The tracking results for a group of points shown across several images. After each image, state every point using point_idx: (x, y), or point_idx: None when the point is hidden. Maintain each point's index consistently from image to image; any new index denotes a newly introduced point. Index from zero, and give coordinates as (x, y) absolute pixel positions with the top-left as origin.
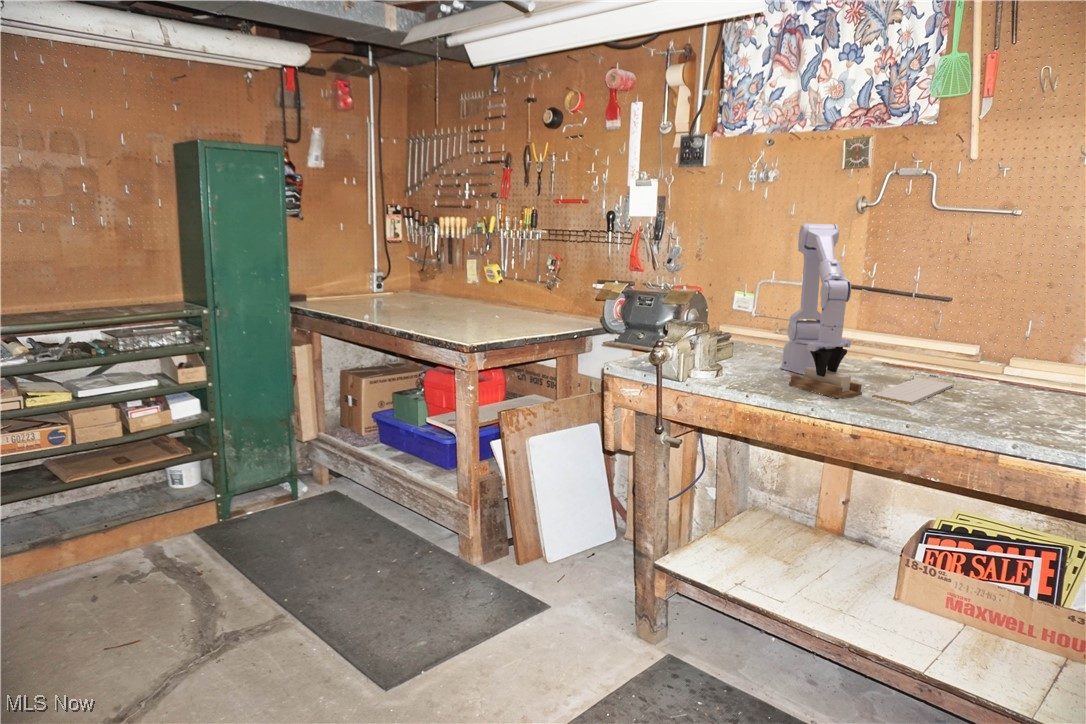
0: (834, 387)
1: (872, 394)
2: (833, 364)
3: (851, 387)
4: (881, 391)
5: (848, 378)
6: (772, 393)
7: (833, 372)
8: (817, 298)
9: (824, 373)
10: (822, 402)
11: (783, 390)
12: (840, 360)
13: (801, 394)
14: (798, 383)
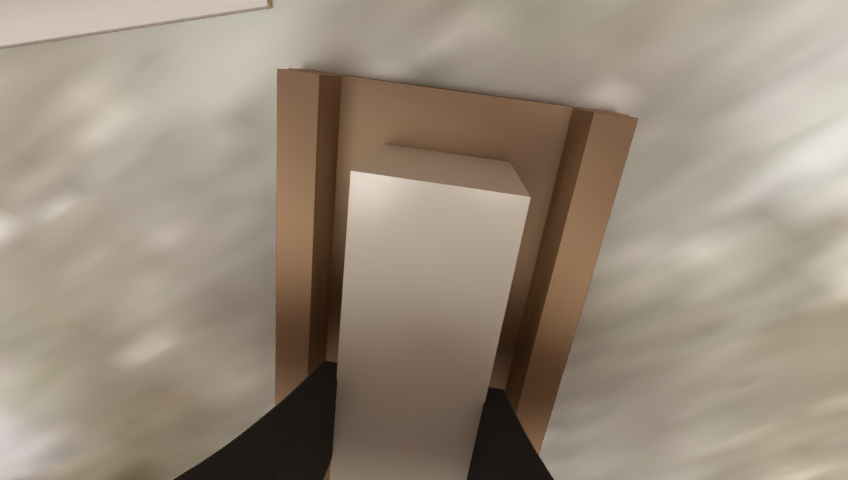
0: (614, 184)
1: (205, 10)
2: (300, 470)
3: (329, 157)
4: (39, 30)
5: (400, 171)
6: (826, 462)
7: (367, 377)
8: None
9: (504, 405)
10: (833, 124)
11: (676, 461)
12: (226, 467)
13: (689, 349)
14: None
